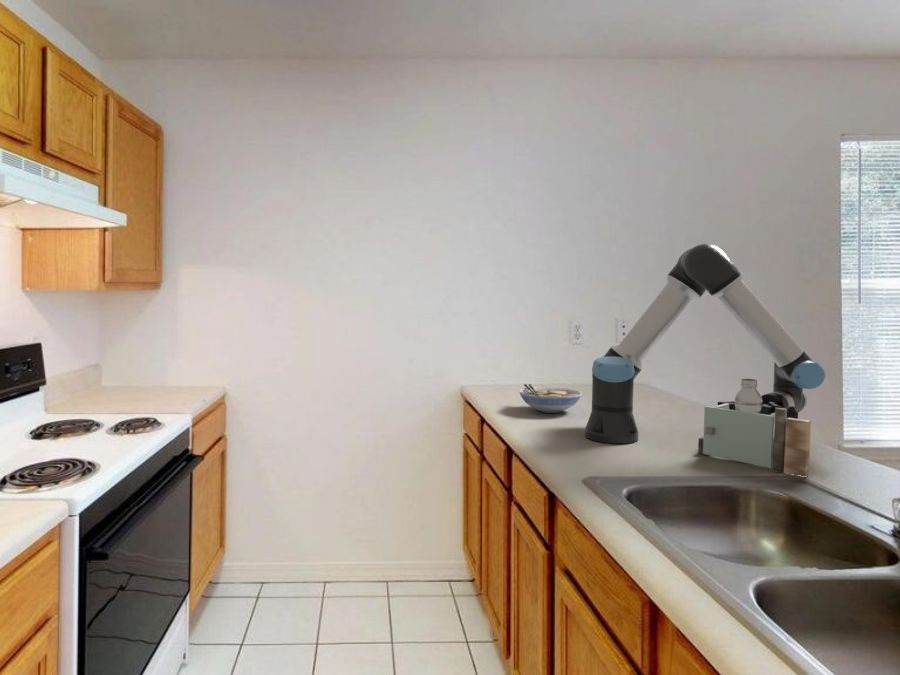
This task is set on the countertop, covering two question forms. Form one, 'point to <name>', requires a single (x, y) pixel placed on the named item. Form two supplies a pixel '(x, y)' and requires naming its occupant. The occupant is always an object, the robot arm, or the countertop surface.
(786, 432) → the brown wooden panel
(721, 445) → the gate
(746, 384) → the plastic bottle
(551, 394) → the ramen bowl
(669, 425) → the countertop surface
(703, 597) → the countertop surface
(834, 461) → the countertop surface
